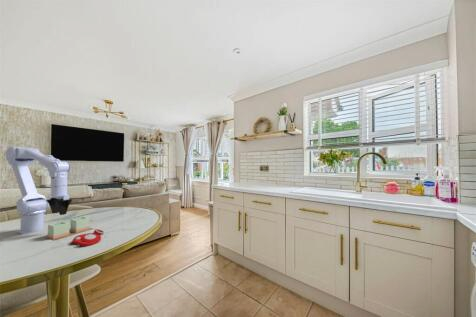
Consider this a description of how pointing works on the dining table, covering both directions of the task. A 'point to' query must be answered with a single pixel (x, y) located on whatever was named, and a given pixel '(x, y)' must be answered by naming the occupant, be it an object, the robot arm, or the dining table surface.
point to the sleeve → (58, 230)
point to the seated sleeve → (80, 224)
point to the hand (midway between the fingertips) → (59, 213)
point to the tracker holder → (88, 238)
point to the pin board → (68, 235)
